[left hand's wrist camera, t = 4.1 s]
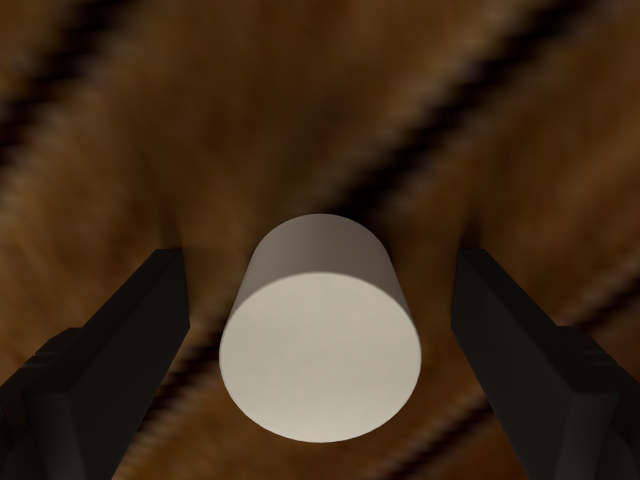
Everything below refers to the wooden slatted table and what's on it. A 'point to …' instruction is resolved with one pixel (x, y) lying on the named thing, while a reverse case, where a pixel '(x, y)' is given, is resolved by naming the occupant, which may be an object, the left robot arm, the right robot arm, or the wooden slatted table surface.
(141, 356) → the left robot arm
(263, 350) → the can
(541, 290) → the wooden slatted table surface
